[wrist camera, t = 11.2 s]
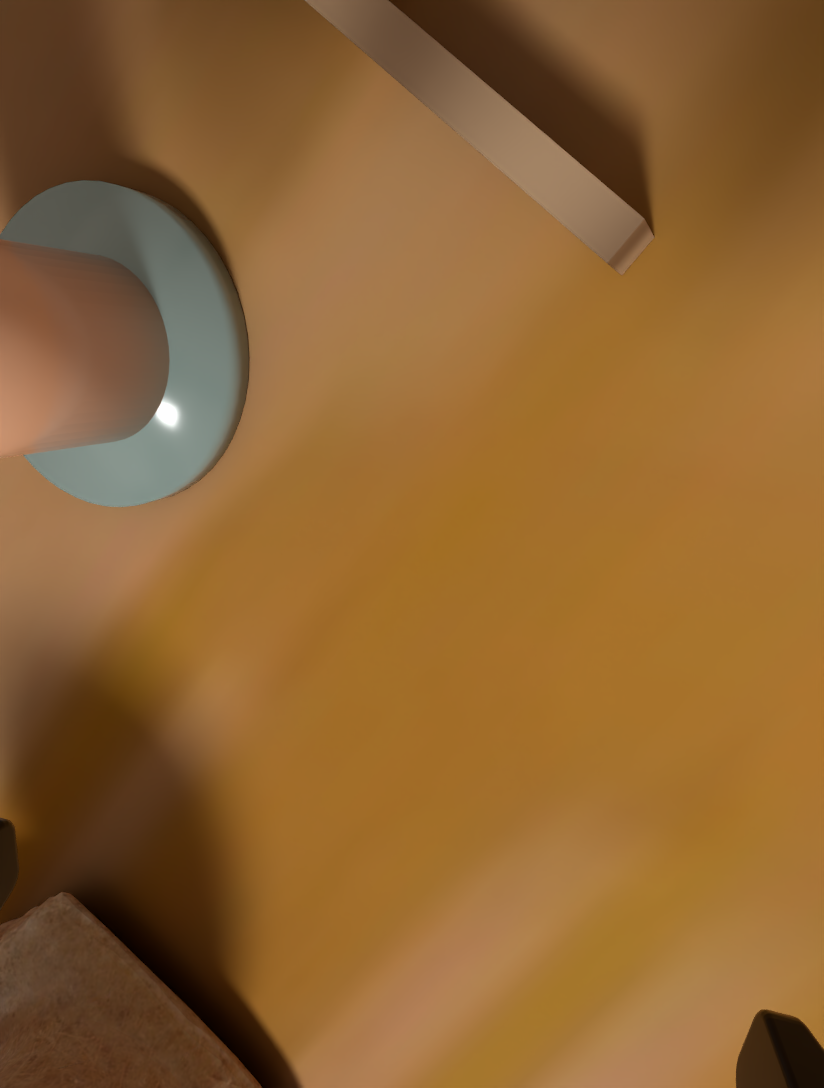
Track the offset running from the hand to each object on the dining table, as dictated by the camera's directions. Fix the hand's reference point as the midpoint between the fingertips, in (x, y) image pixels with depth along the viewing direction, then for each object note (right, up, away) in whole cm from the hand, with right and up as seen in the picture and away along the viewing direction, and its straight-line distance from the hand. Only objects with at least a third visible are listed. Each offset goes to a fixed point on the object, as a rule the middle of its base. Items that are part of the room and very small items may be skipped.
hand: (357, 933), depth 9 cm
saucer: (-8, +10, +14) cm, 19 cm away
